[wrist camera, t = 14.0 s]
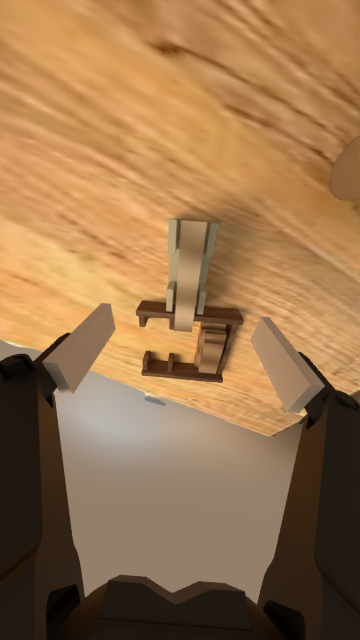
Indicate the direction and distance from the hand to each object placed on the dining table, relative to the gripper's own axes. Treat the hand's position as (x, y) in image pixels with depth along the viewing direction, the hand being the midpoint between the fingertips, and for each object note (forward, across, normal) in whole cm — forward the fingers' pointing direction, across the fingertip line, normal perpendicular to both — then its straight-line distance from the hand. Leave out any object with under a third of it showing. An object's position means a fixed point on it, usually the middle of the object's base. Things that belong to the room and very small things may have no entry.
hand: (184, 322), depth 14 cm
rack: (+22, +2, -20) cm, 29 cm away
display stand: (+22, 0, 0) cm, 22 cm away
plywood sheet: (+21, 0, 0) cm, 21 cm away
